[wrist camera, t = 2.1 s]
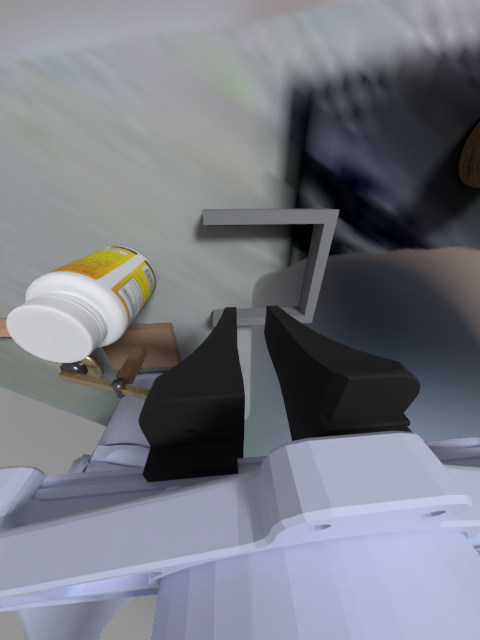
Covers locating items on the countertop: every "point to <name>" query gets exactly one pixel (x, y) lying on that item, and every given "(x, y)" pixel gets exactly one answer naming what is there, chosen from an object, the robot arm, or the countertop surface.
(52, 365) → the countertop surface
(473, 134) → the utensil holder
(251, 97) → the countertop surface
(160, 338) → the stand
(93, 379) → the balance beam
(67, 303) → the supplement bottle
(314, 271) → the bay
